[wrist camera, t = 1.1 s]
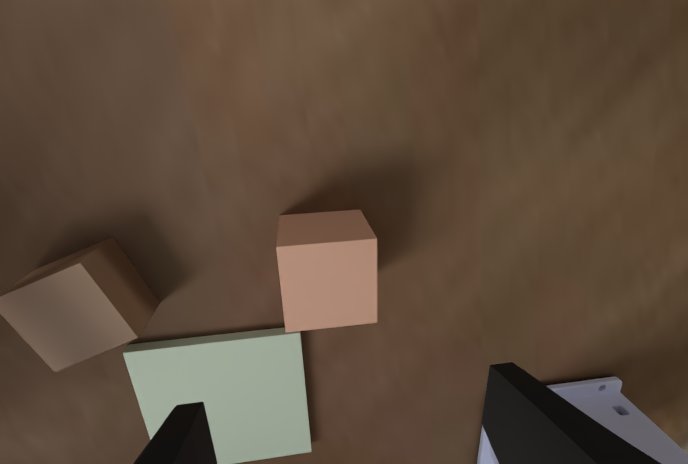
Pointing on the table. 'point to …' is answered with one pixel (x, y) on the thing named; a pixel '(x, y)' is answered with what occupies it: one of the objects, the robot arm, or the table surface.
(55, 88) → the table surface
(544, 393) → the robot arm
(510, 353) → the table surface
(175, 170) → the table surface
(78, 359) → the walnut brick
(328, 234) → the terracotta brick
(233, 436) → the base tile
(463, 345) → the table surface
